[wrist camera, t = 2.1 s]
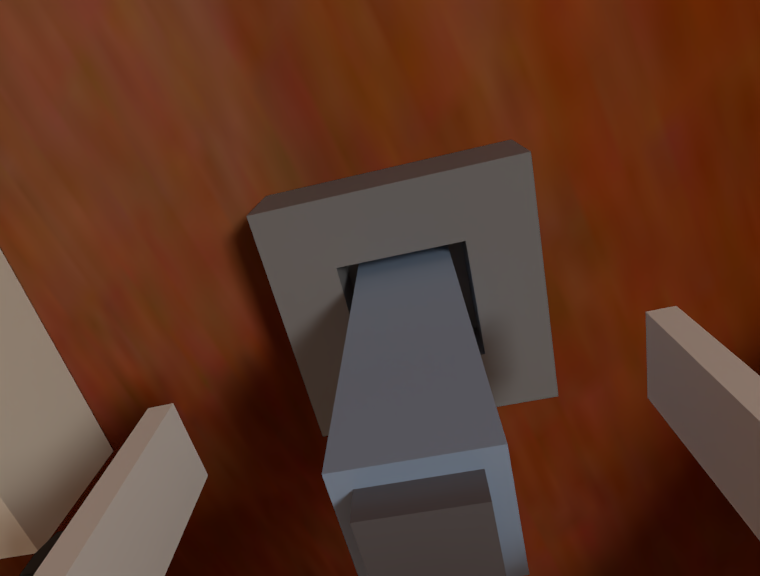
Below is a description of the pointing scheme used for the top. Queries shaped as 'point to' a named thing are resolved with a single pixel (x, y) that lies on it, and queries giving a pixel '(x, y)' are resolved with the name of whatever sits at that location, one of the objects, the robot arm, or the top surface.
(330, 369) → the grey square socket block
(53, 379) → the port
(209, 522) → the top surface
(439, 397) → the plug
